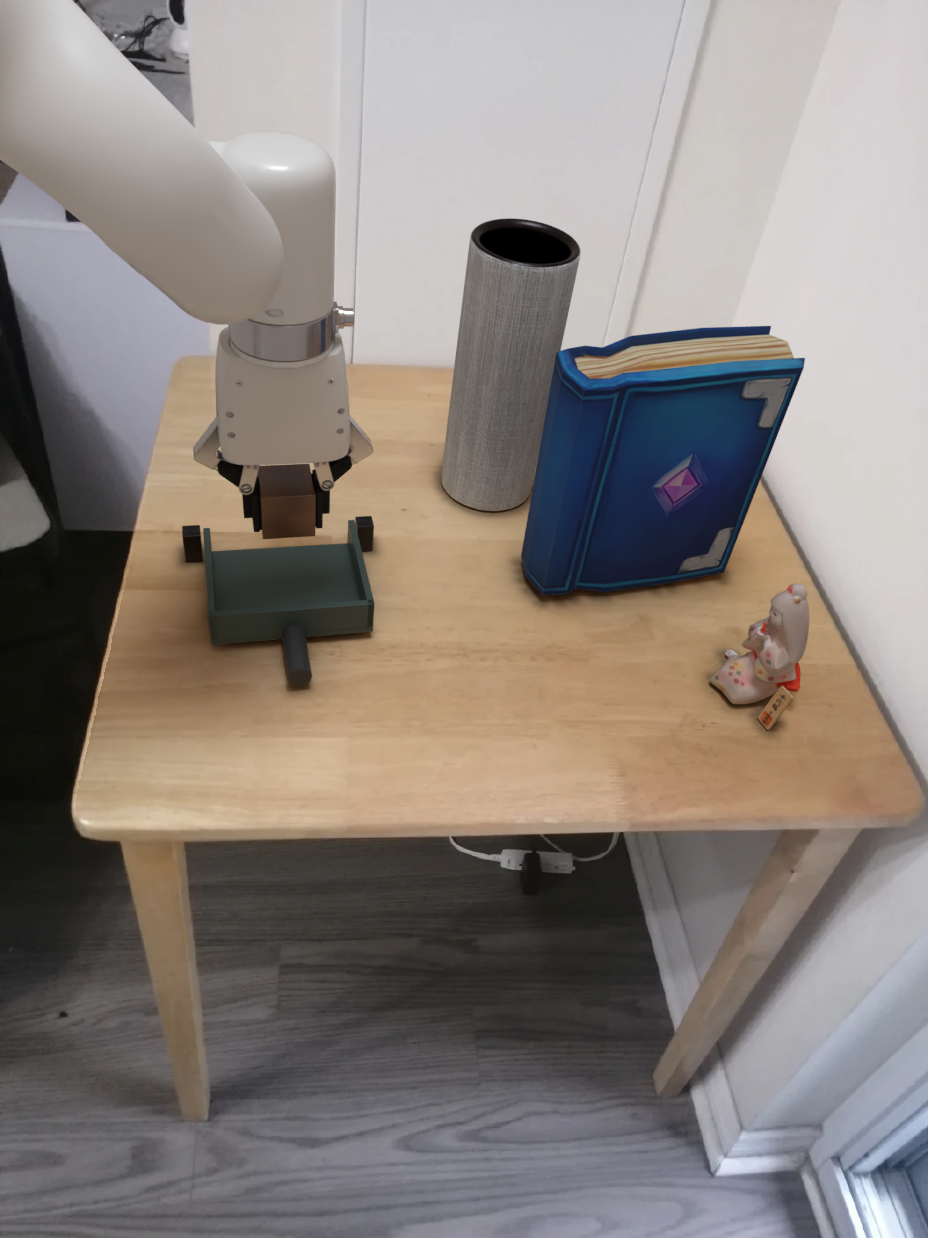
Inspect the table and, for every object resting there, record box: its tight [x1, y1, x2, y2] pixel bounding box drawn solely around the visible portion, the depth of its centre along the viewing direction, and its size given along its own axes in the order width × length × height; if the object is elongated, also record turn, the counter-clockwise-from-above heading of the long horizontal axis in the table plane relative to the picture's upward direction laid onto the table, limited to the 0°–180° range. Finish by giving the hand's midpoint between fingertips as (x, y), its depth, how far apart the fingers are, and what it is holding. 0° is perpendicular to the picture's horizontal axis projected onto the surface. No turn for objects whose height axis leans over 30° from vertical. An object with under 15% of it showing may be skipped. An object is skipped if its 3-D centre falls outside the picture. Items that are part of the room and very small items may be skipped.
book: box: [520, 325, 806, 596], centre depth 86 cm, size 22×7×25 cm, turn 108°
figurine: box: [709, 582, 810, 731], centre depth 82 cm, size 9×7×12 cm
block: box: [257, 463, 316, 540], centre depth 79 cm, size 4×4×4 cm
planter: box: [440, 218, 582, 512], centre depth 93 cm, size 10×10×27 cm
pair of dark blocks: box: [181, 515, 375, 563], centre depth 90 cm, size 2×18×3 cm, turn 103°
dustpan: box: [202, 519, 375, 686], centre depth 83 cm, size 17×14×4 cm
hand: (286, 518), depth 80 cm, fingers closed on block, 4 cm apart
